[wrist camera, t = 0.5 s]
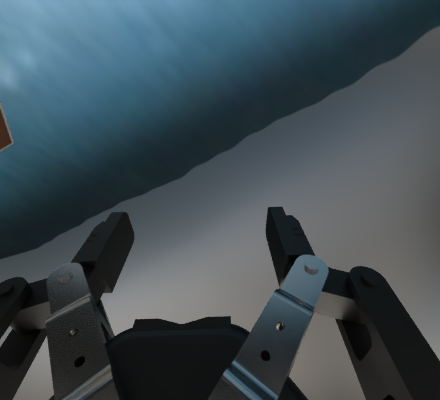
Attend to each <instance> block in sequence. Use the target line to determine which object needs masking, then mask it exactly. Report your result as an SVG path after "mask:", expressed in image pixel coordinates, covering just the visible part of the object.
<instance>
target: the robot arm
mask: <svg viewBox="0 0 440 400" xmlns="http://www.w3.org/2000/svg"><path fill="white" fill-rule="evenodd" d="M266 238H267V242H268V246H269V250H270V253H271V257H272V261H273V265H274V268H275V272H276V276H277V279H278V283H279V287H280V289H279V290H278V289H276V290H275V291H274V293H273V295H272V296H271V298H270V300H269V301H268V303H267V305H266V306H265V308H264V310H263V311H262V313H261V315H260V317H259V318H258V320H257V322H256V323H255V325H254V327H253V328H252V331H251V332H249V331H247V330H246V329H244V328H242V327H240V326H237V325H234V324H231V317H230V316H226V317H206V318H202V319H199V320H196V321H192V322H189V323H186V324H177V323H174V322H170V321H166V320H162V319H136V320H135V322H134V325H133V328H130V329H128V330H125V331H123V332H121V333H120V334H118V335H116V336H115V335H114V333H113V331H112V328H111V325H110V323H109V320H108V317H107V315H106V312H105V309H104V306H103V303H102V301H101V299H100V298H101V296H102V294H103V293H112V292H113V289H114V287H115V285H116V282H117V280H118V278H119V275H120V273H121V271H122V268H123V266H124V263H125V261H126V259H127V256H128V254H129V252H130V250H131V247H132V245H133V242H134V231H133V228H132V225H131V222H130V219H129V216H128V214H127V213H126V212H112V213H111V214H110V215H109V217H108V218H107V220H106V221H105V222H101V223H100V224H99V225H97V226H96V227H95V228H94V230H93V231H92V232H91V234H90V236H89V237H88V238H87V240H86V242H84V244H83V245H82V247H81V248H80V250H79V251H78V253H77V254H76V256H75V257H74V259H73V260H72V261H71V263H68V264H65V265H63V266H61V267H59V268H57V269H56V270H54V271H53V272H52V273H51V274H50V275H49V277H48V278H47V279H43V280H40V281H36V282H33V283H28V282H27V281H26V280H25V279H24V278H22V277H15V278H11V279H8V280H5V281H4V282H1V283H0V339H1V337H2V336H3V334H4V333H5V331H6V330H7V328H8V327H9V326H11V327H12V328H13V329H12V331H11V332H10V333H9V335H8V336H7V338H6V340H5V341H4V342H3V344H2V346H1V347H0V400H12V399H13V397H14V396H15V394H16V392H17V390H18V388H19V386H20V384H21V382H22V381H23V379H24V377H25V375H26V373H27V371H28V369H29V368H30V366H31V364H32V362H33V360H34V358H35V357H36V355H37V353H38V351H39V349H40V347H41V345H42V343H43V342H44V340H45V338H46V336H47V339H48V348H49V356H50V364H51V373H52V381H53V389H54V395H53V396H52V397H51V398H50V399H49V400H308V399H307V398H306V396H305V395H304V394H303V393H302V392H301V390H300V389H299V388H298V387H297V386H296V384H295V383H294V382H293V381H292V380H291V379H290V378H289V374H290V372H291V369H292V367H293V364H294V362H295V359H296V357H297V354H298V351H299V349H300V346H301V344H302V341H303V339H304V336H305V334H306V331H307V329H308V326H309V324H310V321H311V318H312V315H313V313H314V312H315V313H319V314H322V315H326V316H329V317H333V318H335V319H336V322H337V324H338V327H339V330H340V332H341V335H342V338H343V340H344V343H345V346H346V348H347V350H348V353H349V356H350V359H351V361H352V364H353V366H354V369H355V372H356V374H357V377H358V380H359V382H360V384H361V387H362V390H363V393H364V395H365V398H366V400H440V361H439V359H438V358H437V356H436V355H435V353H434V352H433V350H432V349H431V347H430V346H429V344H428V343H427V341H426V340H425V338H424V337H423V335H422V334H421V332H420V331H419V329H418V328H417V326H416V325H415V323H414V322H413V320H412V319H411V317H410V315H409V314H408V313H407V311H406V310H405V308H404V307H403V305H402V303H401V302H400V301H399V299H398V297H397V296H396V295H395V293H394V291H393V290H392V289H391V287H390V285H389V284H388V283H387V281H386V279H385V278H384V277H383V276H382V275H381V274H380V273H378V272H376V271H375V270H373V269H371V268H368V267H362V266H357V267H354V268H352V269H351V271H350V273H349V272H344V271H340V270H336V269H332V268H329V267H327V265H326V263H325V262H324V261H322V260H321V259H320V258H318V257H316V256H315V254H314V252H313V250H312V248H311V247H310V244H309V242H308V240H307V238H306V236H305V234H304V231H303V229H302V227H301V225H300V223H299V221H298V220H297V219H296V218H294V217H293V216H292V215H288V216H287V215H286V214H285V212H284V210H283V207H269V208H268V213H267V221H266Z"/></svg>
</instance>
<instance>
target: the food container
mask: <svg viewBox="0 0 440 400" xmlns="http://www.w3.org/2000/svg"><path fill="white" fill-rule="evenodd" d="M12 144H14V141H13V138H12V135H11V132H10V129H9V126H8V123H7V120H6V117H5V114H4V111H3V108H2V105H1V102H0V152H1V151H2V150H4V149H6V148H7V147H9V146H11V145H12Z"/></svg>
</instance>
